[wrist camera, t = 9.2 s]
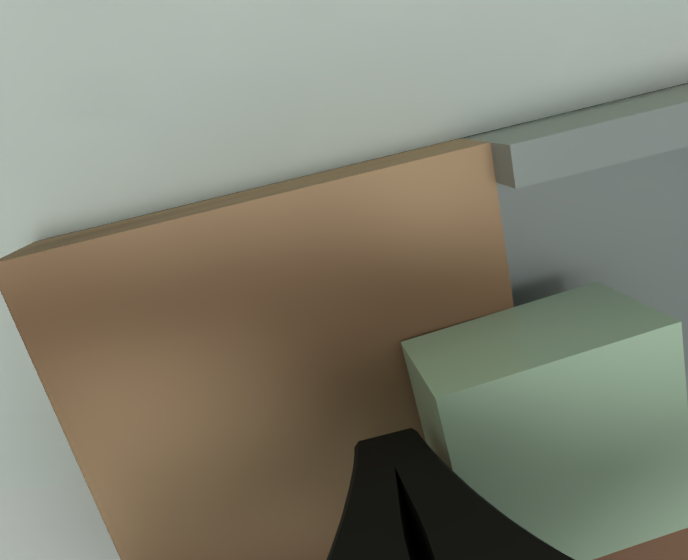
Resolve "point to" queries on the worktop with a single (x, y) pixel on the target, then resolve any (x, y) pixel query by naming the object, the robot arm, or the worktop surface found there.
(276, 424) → the walnut board
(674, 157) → the tray
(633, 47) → the worktop surface
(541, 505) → the sage tile
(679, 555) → the terracotta tile
